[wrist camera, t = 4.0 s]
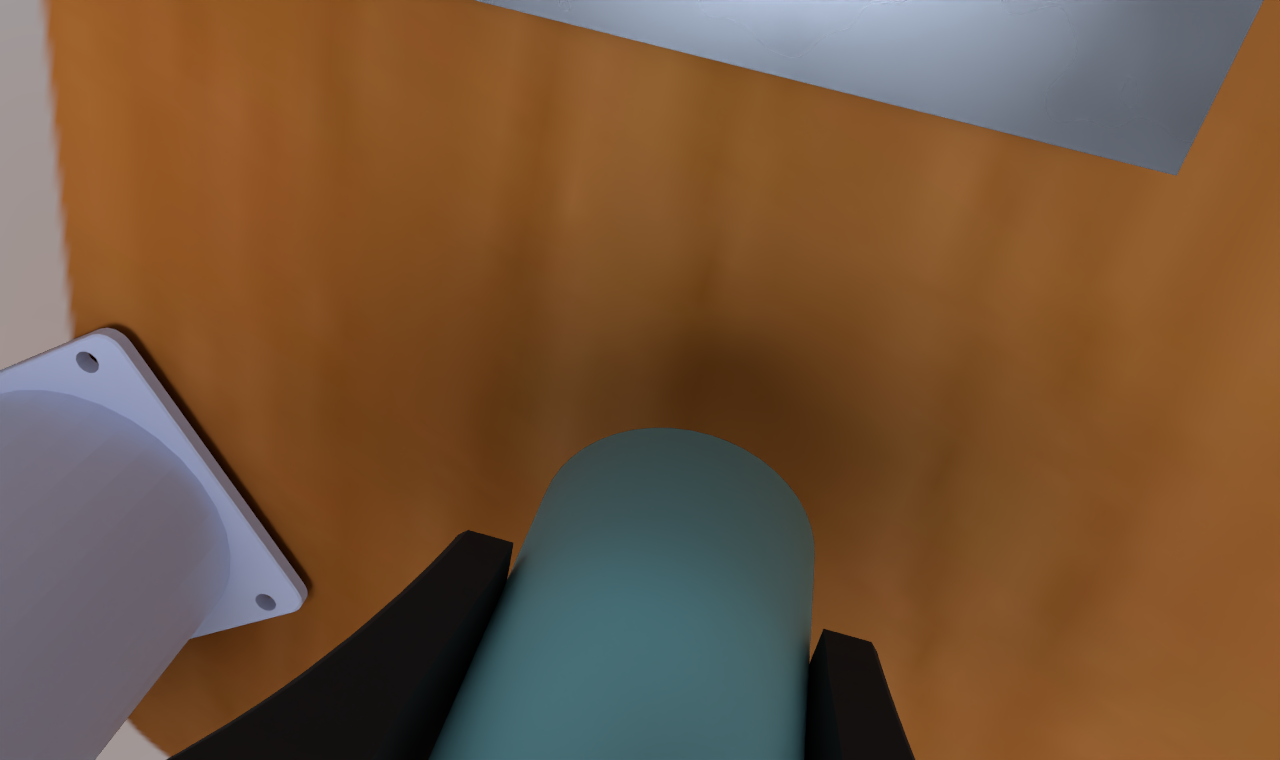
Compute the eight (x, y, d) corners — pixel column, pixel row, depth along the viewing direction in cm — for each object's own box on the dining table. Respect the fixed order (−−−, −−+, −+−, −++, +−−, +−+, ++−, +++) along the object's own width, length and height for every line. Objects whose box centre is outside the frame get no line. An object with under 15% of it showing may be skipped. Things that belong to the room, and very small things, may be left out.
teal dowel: (609, 670, 16) (498, 1074, 11) (492, 470, 15) (299, 831, 10) (854, 620, 15) (854, 1052, 10) (752, 393, 13) (689, 766, 8)
